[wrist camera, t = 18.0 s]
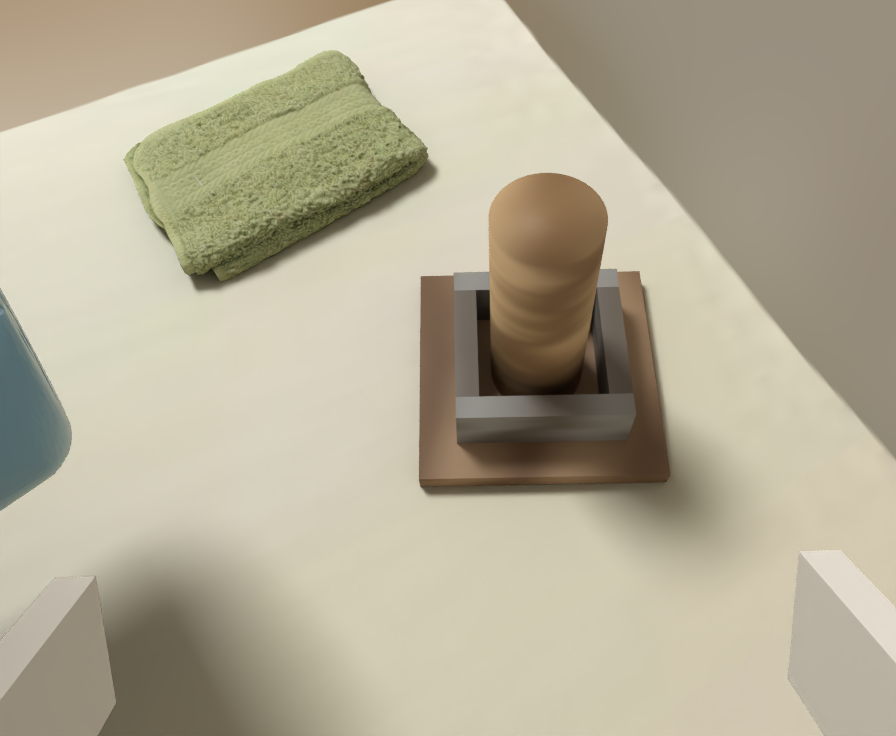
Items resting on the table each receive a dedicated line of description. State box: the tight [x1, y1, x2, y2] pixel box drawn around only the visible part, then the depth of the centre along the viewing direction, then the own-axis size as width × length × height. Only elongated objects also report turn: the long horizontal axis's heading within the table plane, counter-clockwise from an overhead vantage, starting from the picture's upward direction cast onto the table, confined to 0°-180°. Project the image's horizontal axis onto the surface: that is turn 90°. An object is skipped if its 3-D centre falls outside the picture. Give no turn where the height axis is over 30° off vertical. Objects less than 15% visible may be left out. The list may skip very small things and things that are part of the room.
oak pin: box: [489, 173, 608, 396], centre depth 41 cm, size 5×5×13 cm
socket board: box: [419, 269, 670, 486], centre depth 46 cm, size 13×13×4 cm
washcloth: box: [123, 50, 428, 282], centre depth 55 cm, size 13×18×3 cm
